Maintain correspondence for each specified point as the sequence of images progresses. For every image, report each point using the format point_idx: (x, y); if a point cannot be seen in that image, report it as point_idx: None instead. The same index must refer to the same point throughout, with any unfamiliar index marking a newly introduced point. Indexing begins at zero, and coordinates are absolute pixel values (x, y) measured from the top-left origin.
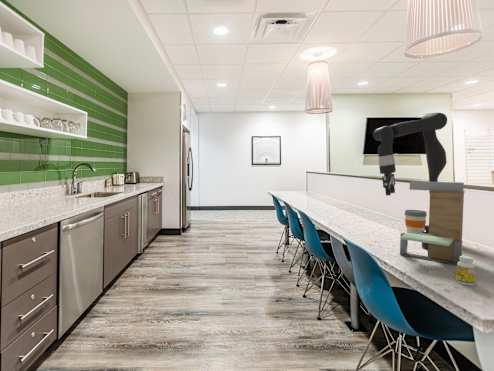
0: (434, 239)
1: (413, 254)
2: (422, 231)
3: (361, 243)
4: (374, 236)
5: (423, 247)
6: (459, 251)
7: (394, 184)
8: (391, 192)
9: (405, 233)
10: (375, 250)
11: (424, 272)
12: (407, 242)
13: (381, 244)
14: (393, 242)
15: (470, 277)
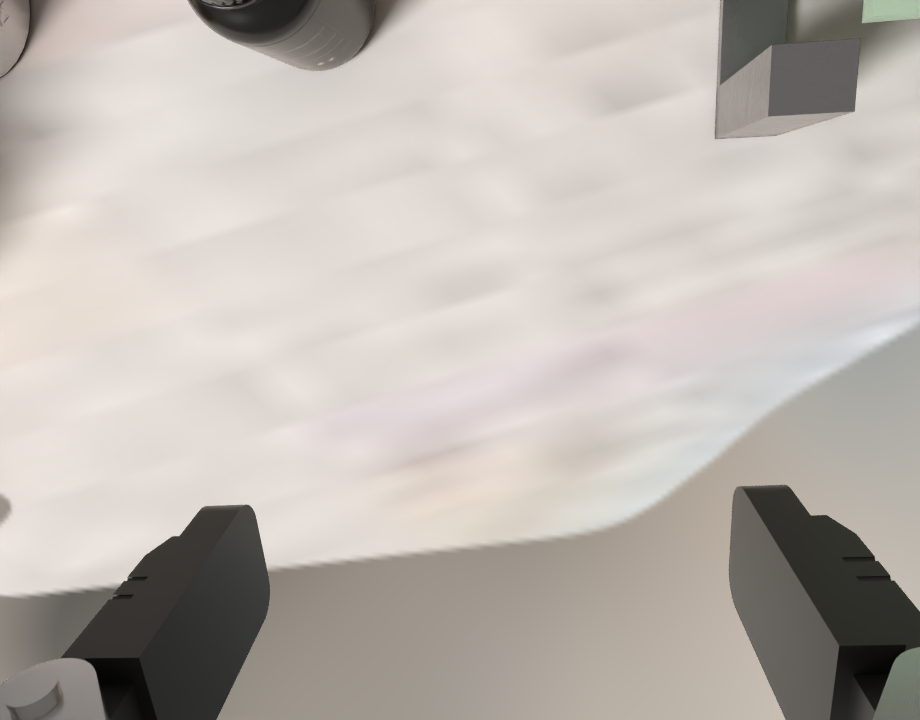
0: None
1: (740, 21)
2: (273, 29)
3: (590, 526)
4: None
5: (364, 41)
6: None
7: (35, 703)
8: (261, 588)
9: (792, 68)
10: (764, 354)
11: None
12: (747, 66)
13: (496, 382)
14: (338, 324)
15: None
